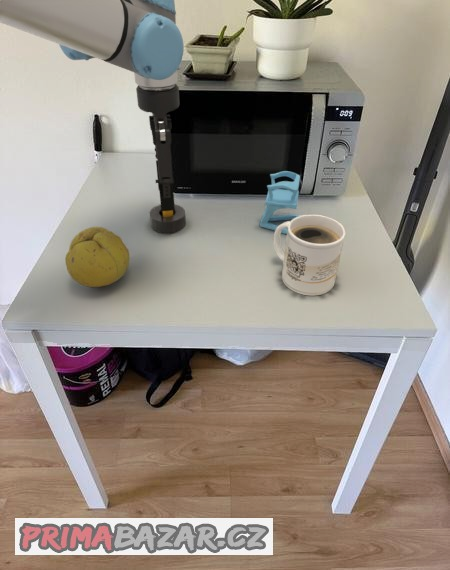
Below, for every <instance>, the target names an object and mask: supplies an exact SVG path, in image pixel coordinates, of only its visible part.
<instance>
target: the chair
mask: <svg viewBox="0 0 450 570" xmlns="http://www.w3.org/2000/svg"><path fill="white" fill-rule="evenodd" d="M269 177H270V179H271V180H270V181H271V184H267V185H266V187H267V190H268V191H267V195H266V199H265V202H264V207H265V206H266V207H265V209H264V211H263V213H262V215H261V220H260V222H259V227H261V228H263V229H268V230H271V231H275V230H276V228H277V227H278V226H279V225H277V224H274V223H271V222H276V221H291V220H293V219H294V218H296V217H299V216H300V214H277V215H276V214H275V215H274V213H276V211H278V210H280V209H281V210H282V209H293V210H297V207H298V200H299V199H298V198H299V194H300V190H299V188H300V182H301V181H300V180H301V179H300V178H301V174H298V173H296V172H293V171H288V170H283V171H282V170H281V171H279V172H276V173H270V174H269ZM281 177H287V178H290V179H291V180H293V181H288V180H283V181H278V182H276V180H275V179H278V178H281ZM287 229H288V228H283V229H282V231H281V234H284V235H287Z"/></svg>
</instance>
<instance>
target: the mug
mask: <svg viewBox="0 0 450 570" xmlns="http://www.w3.org/2000/svg"><path fill="white" fill-rule="evenodd" d="M277 226H278V227H277V228H276V230H274V233H273V239H272V240H273V242H272V243H273V248H274V250H275V253H276V255H277V257H278V258H279V259H280V261H282V263H283V264H282V272H281V280H282V282H283V284H284V286H286V287H287V288H288V289H289V290H291V291H292V292H295V293H297V294H300V295H303V296H311V297H312V296H313V297H314V296H320V295H324V294H326V293H328V292H330V291H331V290H332V289H333V287H334V286H335V283H336V278H337V274H338V269H339V265H340V261H341V256H342V251H343V247H344V242H345V238H346V230H345V229H346V228H345V227H344V226H343V225H342V223H341V222H339V221H337V220H336V219H334V218H332V217H330V216H326V215H321V214H311V213H310V214H302V215H299V217H296V218H294V219H291V220H286V221H284V222H283V223H281V224H279V225H277ZM283 228H286V229H287V234H286V239H285V246H284V248H283V247H282V242H281V234H282V233H281V231H282V229H283Z"/></svg>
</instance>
